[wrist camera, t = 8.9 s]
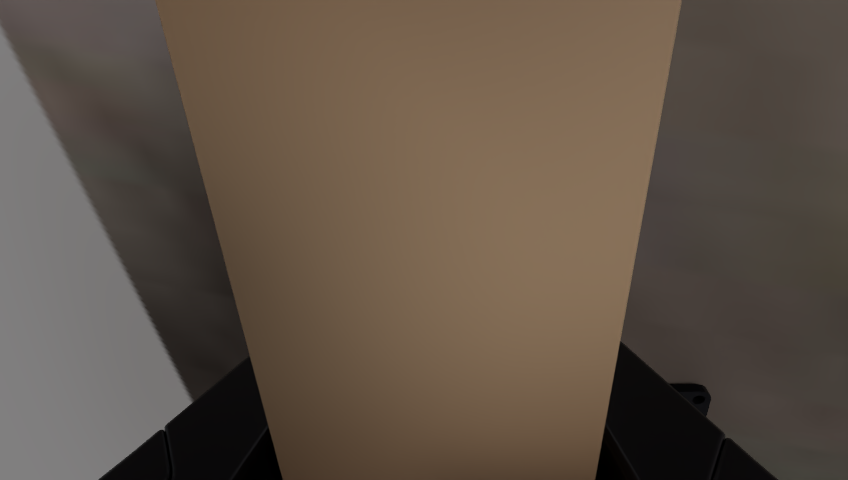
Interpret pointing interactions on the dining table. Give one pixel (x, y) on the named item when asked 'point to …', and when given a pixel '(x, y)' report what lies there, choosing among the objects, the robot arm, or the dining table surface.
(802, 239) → the dining table surface
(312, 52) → the tan wooden block
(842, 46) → the dining table surface
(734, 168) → the dining table surface
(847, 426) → the dining table surface
